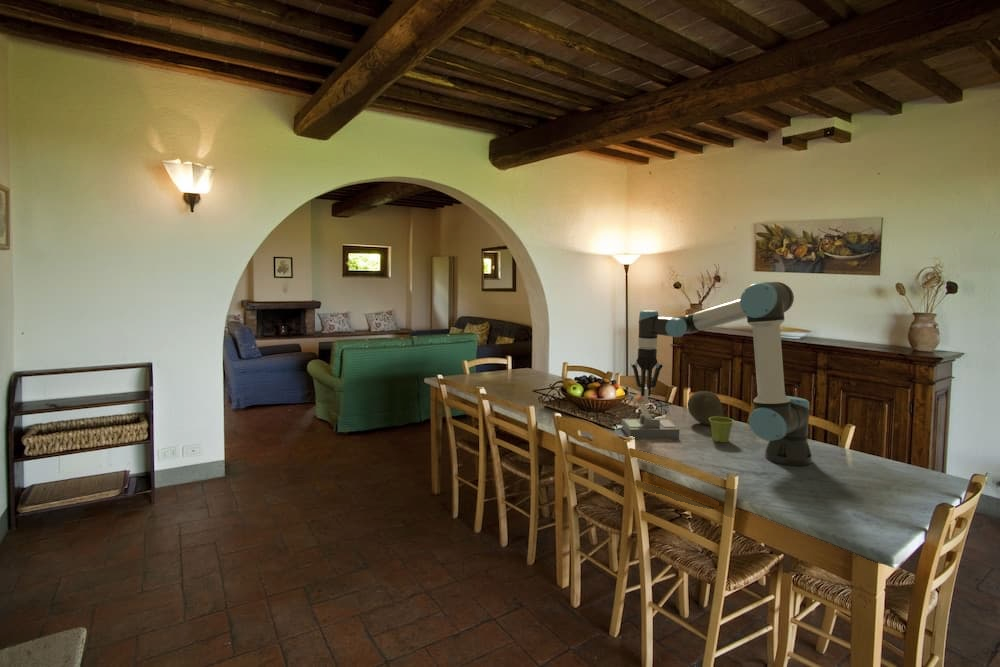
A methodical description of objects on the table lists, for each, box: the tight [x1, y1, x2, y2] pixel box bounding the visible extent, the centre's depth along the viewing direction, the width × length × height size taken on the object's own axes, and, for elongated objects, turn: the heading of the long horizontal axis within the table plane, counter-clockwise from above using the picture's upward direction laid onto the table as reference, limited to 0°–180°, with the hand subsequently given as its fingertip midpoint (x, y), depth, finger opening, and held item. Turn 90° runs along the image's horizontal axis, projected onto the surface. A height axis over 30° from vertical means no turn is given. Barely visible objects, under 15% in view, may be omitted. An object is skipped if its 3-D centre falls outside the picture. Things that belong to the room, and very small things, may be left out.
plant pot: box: [709, 416, 735, 443], centre depth 226 cm, size 9×9×9 cm
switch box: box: [621, 413, 681, 440], centre depth 236 cm, size 16×20×7 cm
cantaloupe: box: [687, 390, 723, 426], centre depth 249 cm, size 14×14×15 cm
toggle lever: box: [632, 393, 652, 419], centre depth 235 cm, size 5×3×13 cm, turn 0°
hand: (645, 403), depth 235 cm, fingers closed
